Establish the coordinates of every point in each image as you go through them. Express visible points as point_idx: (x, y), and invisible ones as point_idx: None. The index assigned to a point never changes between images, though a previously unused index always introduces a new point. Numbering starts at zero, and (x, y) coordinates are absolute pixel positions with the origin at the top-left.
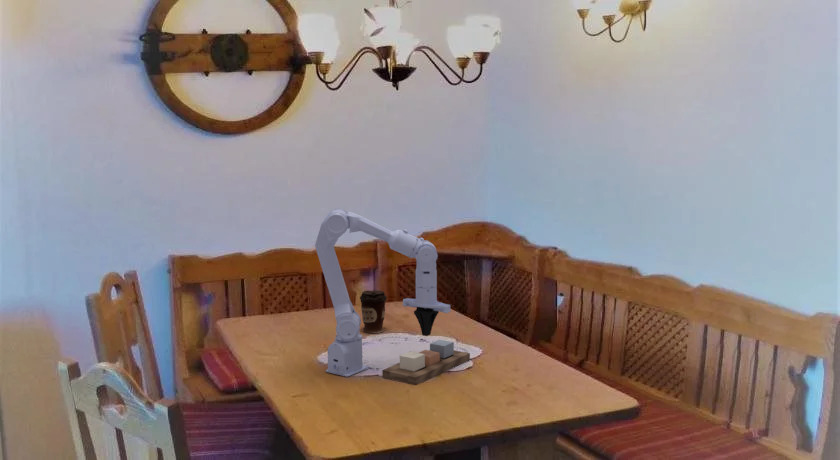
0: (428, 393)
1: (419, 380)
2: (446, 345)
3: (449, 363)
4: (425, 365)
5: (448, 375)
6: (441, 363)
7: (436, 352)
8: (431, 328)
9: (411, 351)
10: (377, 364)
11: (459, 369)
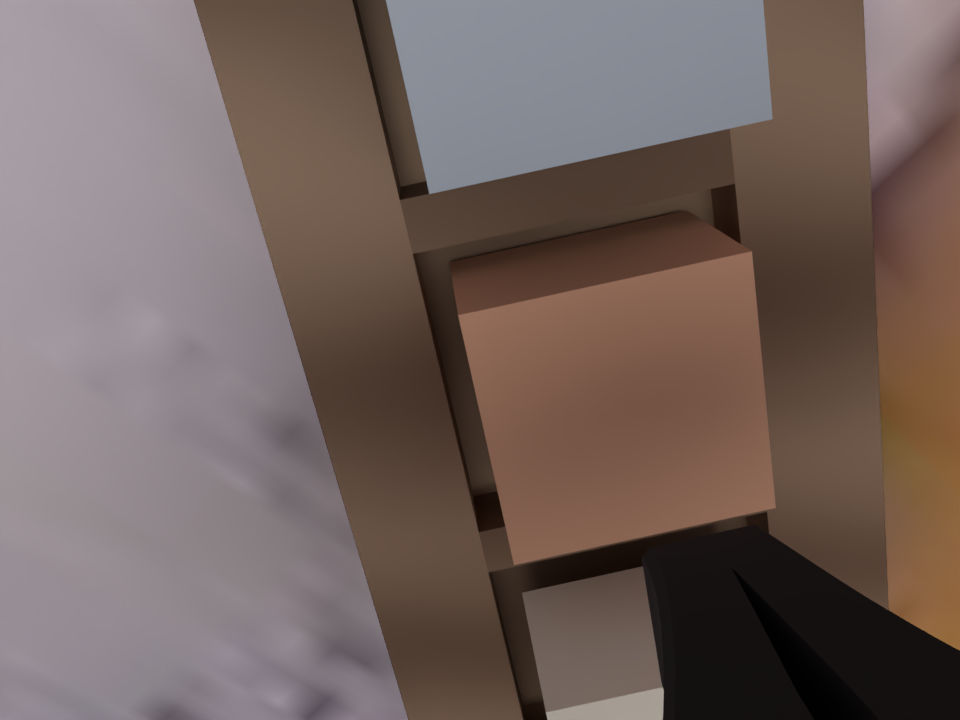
0: None
1: None
2: (764, 28)
3: (862, 172)
4: None
5: (946, 328)
6: (813, 295)
7: (707, 284)
8: (850, 599)
9: (568, 708)
10: (44, 649)
11: (923, 53)
